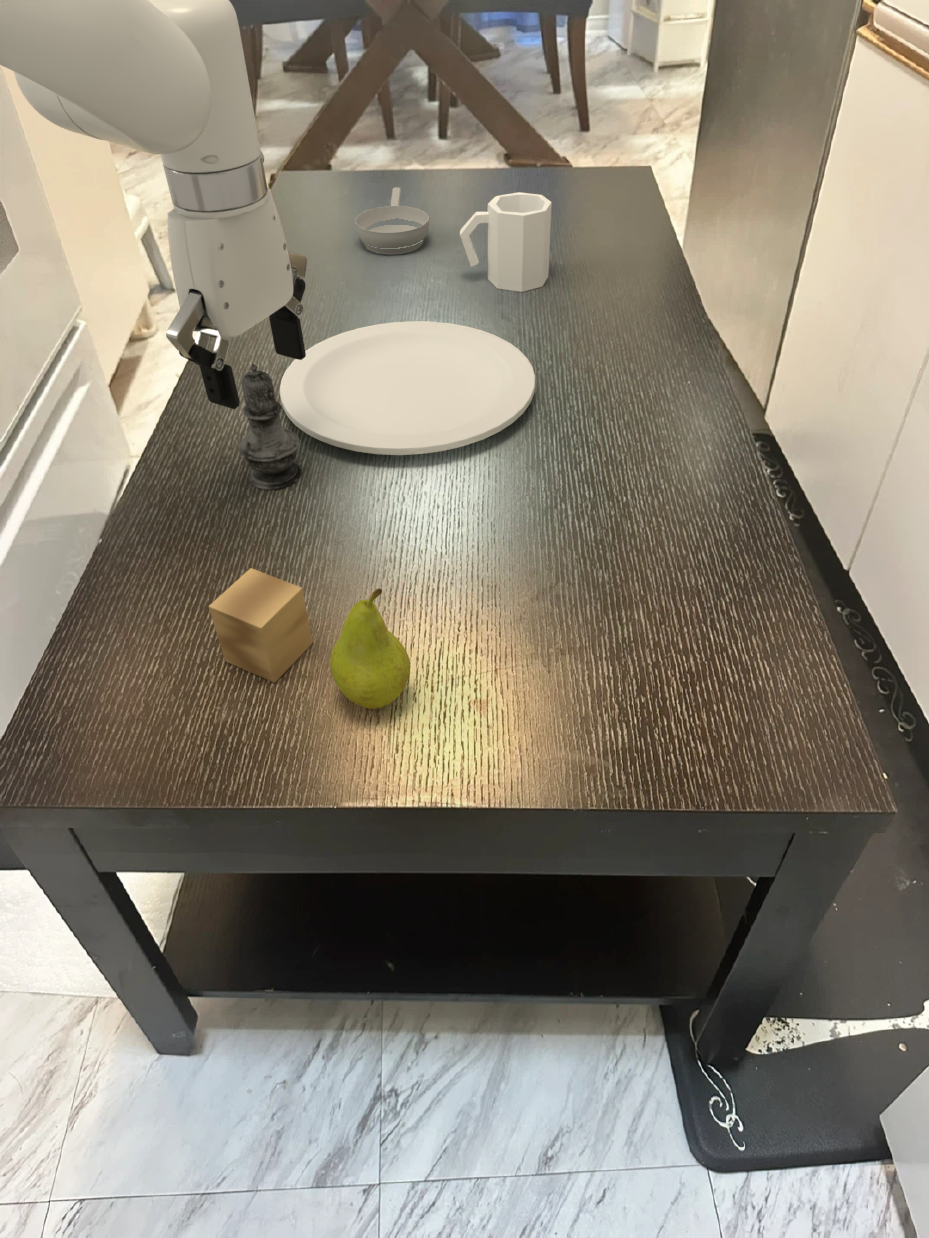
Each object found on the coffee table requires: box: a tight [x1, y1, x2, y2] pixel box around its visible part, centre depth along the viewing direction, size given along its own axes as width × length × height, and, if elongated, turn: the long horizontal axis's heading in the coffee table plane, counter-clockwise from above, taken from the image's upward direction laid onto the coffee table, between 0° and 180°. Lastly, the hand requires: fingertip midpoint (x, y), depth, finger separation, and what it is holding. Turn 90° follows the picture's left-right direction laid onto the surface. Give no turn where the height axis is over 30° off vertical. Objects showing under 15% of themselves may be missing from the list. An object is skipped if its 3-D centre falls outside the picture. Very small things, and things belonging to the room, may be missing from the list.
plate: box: [279, 320, 536, 456], centre depth 98 cm, size 28×28×2 cm
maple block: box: [208, 567, 314, 684], centre depth 69 cm, size 5×5×6 cm
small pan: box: [354, 186, 430, 256], centre depth 133 cm, size 11×18×4 cm, turn 0°
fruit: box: [329, 587, 411, 710], centre depth 63 cm, size 6×6×12 cm
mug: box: [459, 191, 553, 293], centre depth 118 cm, size 12×9×10 cm
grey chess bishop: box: [238, 363, 303, 491], centre depth 84 cm, size 6×6×12 cm
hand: (259, 379), depth 82 cm, fingers open, 9 cm apart
